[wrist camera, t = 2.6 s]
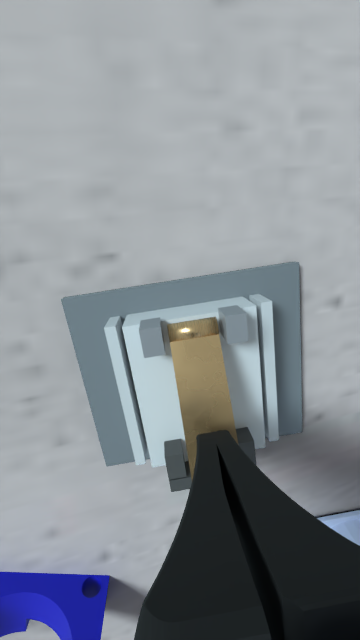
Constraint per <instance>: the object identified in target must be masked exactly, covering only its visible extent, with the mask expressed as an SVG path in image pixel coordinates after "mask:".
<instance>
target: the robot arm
mask: <svg viewBox="0 0 360 640" xmlns="http://www.w3.org/2000/svg"><path fill="white" fill-rule="evenodd" d="M196 440H197V453H196V462H195V468H194V475H193V479H192V484H191V488H190V493H189V496H188V500H187V504H186V507H185V510H184V513H183V516H182V519H181V522H180V525H179V528H178V530H177V533H176V536H175V538H174V541H173V543H172V545H171V548H170V550H169V552H168V554H167V556H166V559H165V561H164V563H163V565H162V568H161V570H160V572H159V574H158V576H157V577H156V579H155V581H154V583H153V585H152V587H151V589H150V591H149V592H148V594H147V596H146V598H145V600H144V602H143V604H142V608H141V612H140V616H139V620H138V624H137V628H136V633H135V638H134V640H360V510H357V511H352V512H346V513H341V514H335V515H330V516H325V517H319V518H316V517H314V516H313V515H312V514H310V513H309V512H307V511H306V510H305V509H303V508H302V507H301V506H300V505H298V504H297V503H296V502H295V501H293V500H292V499H291V498H290V497H288V496H287V495H286V494H285V493H284V492H283V491H281V490H280V489H279V488H278V487H277V486H276V485H275V484H274V483H273V482H272V481H271V480H270V479H269V478H268V477H267V476H266V475H265V474H264V473H263V472H262V471H261V470H260V469H259V468H258V467H257V466H256V465H255V464H254V463H253V462H252V461H251V459H250V458H249V457H248V456H247V455H246V454H245V453H244V451H243V450H242V449H241V448H240V446H239V445H238V444H237V443H236V441H235V440H234V439H233V437H232V436H231V434H230V433H229V431H227V430H221V431H216V432H210V433H204V434H198V435H197V437H196Z"/></svg>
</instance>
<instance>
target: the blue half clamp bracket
mask: <svg viewBox="0 0 360 640" xmlns="http://www.w3.org/2000/svg"><path fill="white" fill-rule="evenodd" d="M108 583H109V576H107V575H78V574H48V573H19V572H0V637H2V636H4V635H7V634H10V633H15V632H22V631H26V629H27V626H28V623H29V620H30V619H33V620H37V621H40V622H43V623H45V624H47V625H48V626H49V627H51V628H52V629H53V630H54V631H55V632H56V633H57V635H58V636H59V637H60V639H61V640H100V639H101V632H102V625H103V618H104V611H105V604H106V597H107V590H108Z"/></svg>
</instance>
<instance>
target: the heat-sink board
mask: <svg viewBox="0 0 360 640" xmlns="http://www.w3.org/2000/svg"><path fill="white" fill-rule="evenodd" d="M61 301H62V305H63V309H64V312H65V316H66V320H67V323H68V327H69V331H70V334H71V338H72V342H73V345H74V349H75V352H76V356H77V360H78V363H79V367H80V371H81V374H82V378H83V382H84V385H85V389H86V393H87V396H88V400H89V404H90V407H91V411H92V415H93V418H94V422H95V426H96V429H97V433H98V437H99V440H100V444H101V448H102V451H103V455H104V459H105V462H106V466H112V465H118V464H123V463H129V462H135V463H136V465H140V464H146V459H150V460H151V465H152V467H158V466H163V465H166V467H167V472H168V477H169V482H170V487H171V492H174V491H180V490H185V489H190V488H191V484H192V479H191V473H190V466H189V460H188V454H187V448H186V441H185V435H184V429H183V422H182V416H181V410H180V403H179V397H178V391H177V384H176V378H175V372H174V366H173V359H172V353H171V347H170V340H169V334H168V328H167V324H172V323H178V322H184V321H190V320H197V319H203V318H209V317H216V319H217V322H218V327H219V337H220V342H221V348H222V354H223V360H224V365H225V371H226V377H227V382H228V388H229V394H230V400H231V405H232V411H233V417H234V422H235V428H236V434H237V440H238V445H239V446H240V448H241V449H242V450H243V451H244V453H245V454H246V455H247V456H248V457H249V458H250V459H251V461H252V462H253V463H254V464H255V465H256V457H255V449H260V448H265V447H266V446H265V439H266V438H268V440H269V442H271V441H277V440H279V436H283V435H288V434H294V433H300V432H302V386H301V334H300V283H299V262H289V263H282V264H276V265H269V266H263V267H256V268H250V269H244V270H237V271H231V272H224V273H218V274H211V275H205V276H199V277H192V278H186V279H179V280H173V281H166V282H160V283H153V284H147V285H141V286H134V287H128V288H121V289H115V290H108V291H102V292H96V293H89V294H83V295H76V296H70V297H64V298H63V299H61Z"/></svg>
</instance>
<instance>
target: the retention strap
mask: <svg viewBox="0 0 360 640" xmlns="http://www.w3.org/2000/svg"><path fill="white" fill-rule="evenodd" d="M167 328H168V334H169V340H170V347H171V353H172V359H173V366H174V372H175V378H176V384H177V391H178V397H179V403H180V410H181V416H182V422H183V429H184V435H185V441H186V448H187V454H188V460H189V466H190V473H191V479H193V475H194V468H195V462H196V453H197V440H196V437H197V435H198V434H204V433H210V432H216V431H221V430H227V431H229V433H230V434H231V436H232V437H233V439H234V440H235V441H236V443H237V444H238V440H237V434H236V428H235V422H234V417H233V411H232V405H231V400H230V394H229V388H228V382H227V377H226V371H225V365H224V360H223V354H222V348H221V342H220V337H219V327H218V322H217V319H216V317H209V318H203V319H197V320H190V321H184V322H178V323H172V324H167Z"/></svg>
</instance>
